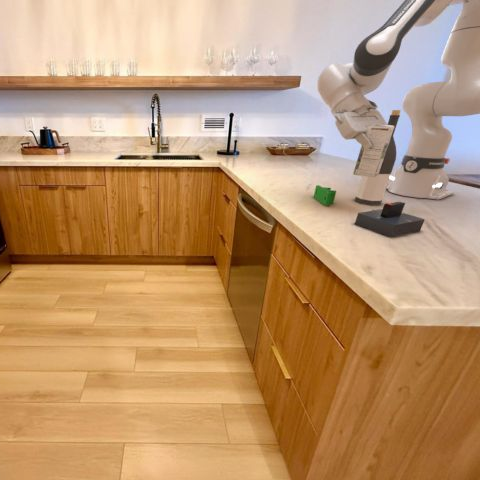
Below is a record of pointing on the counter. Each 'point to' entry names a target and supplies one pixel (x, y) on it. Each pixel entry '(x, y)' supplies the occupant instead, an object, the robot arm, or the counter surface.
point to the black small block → (392, 209)
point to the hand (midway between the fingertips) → (376, 147)
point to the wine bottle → (375, 186)
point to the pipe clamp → (324, 195)
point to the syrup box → (374, 150)
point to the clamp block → (389, 223)
